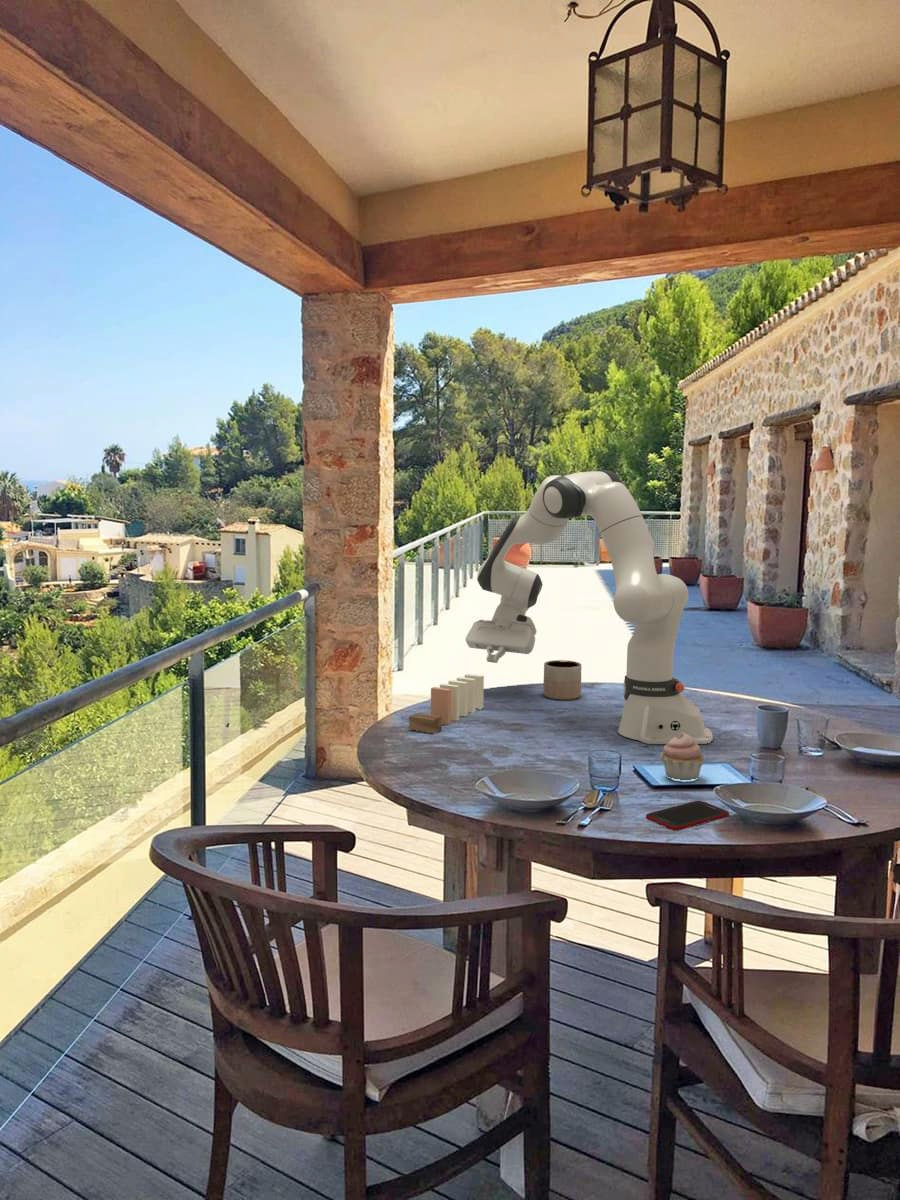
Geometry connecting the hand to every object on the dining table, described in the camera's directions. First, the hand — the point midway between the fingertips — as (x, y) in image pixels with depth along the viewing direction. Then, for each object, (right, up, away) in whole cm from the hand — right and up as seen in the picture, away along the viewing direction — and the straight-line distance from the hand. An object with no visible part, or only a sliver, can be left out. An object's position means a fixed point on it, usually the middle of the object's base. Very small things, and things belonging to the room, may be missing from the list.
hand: (491, 661), depth 254 cm
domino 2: (-12, -14, -20) cm, 27 cm away
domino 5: (-5, -12, -8) cm, 15 cm away
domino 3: (-10, -13, -16) cm, 23 cm away
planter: (+21, -11, +6) cm, 24 cm away
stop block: (-18, -15, -31) cm, 38 cm away
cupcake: (+37, -20, -66) cm, 78 cm away
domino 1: (-14, -14, -24) cm, 31 cm away
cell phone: (+32, -23, -87) cm, 96 cm away
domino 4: (-7, -13, -12) cm, 19 cm away
